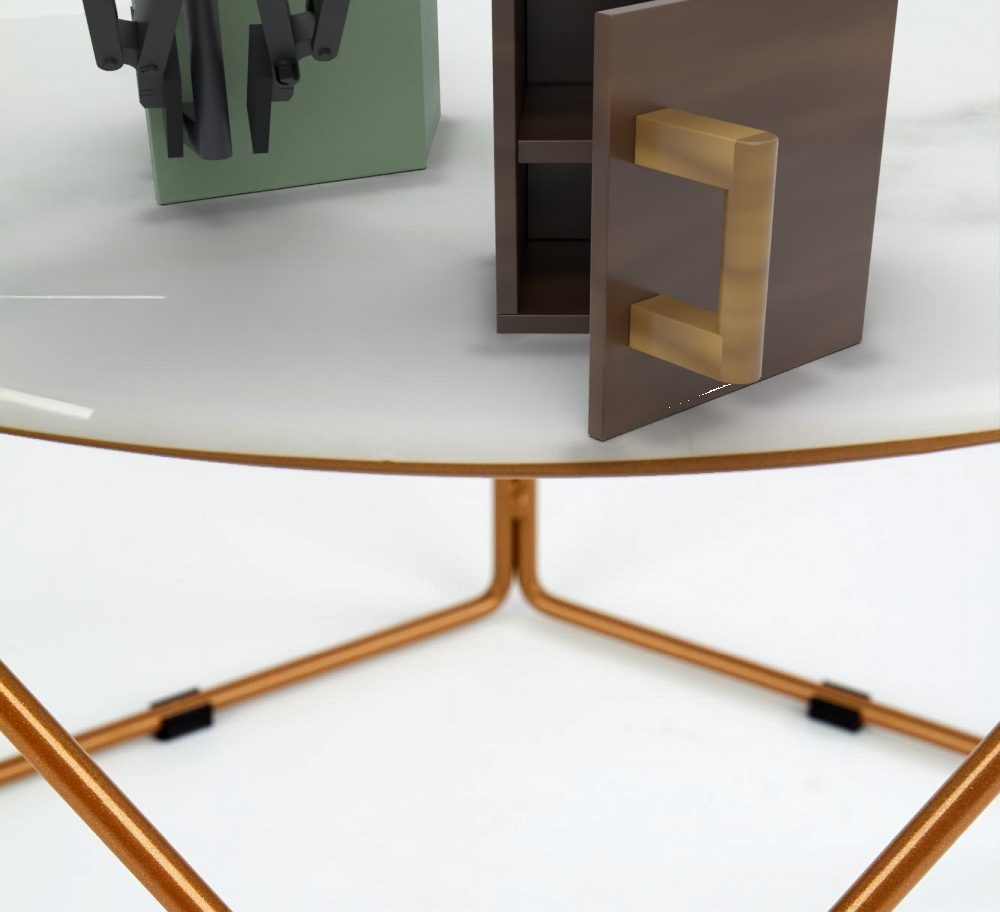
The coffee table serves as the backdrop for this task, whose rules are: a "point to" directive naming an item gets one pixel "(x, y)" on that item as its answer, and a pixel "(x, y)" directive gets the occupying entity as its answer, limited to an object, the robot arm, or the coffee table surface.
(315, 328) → the coffee table surface
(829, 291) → the near door
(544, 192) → the near cabinet
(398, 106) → the far door
